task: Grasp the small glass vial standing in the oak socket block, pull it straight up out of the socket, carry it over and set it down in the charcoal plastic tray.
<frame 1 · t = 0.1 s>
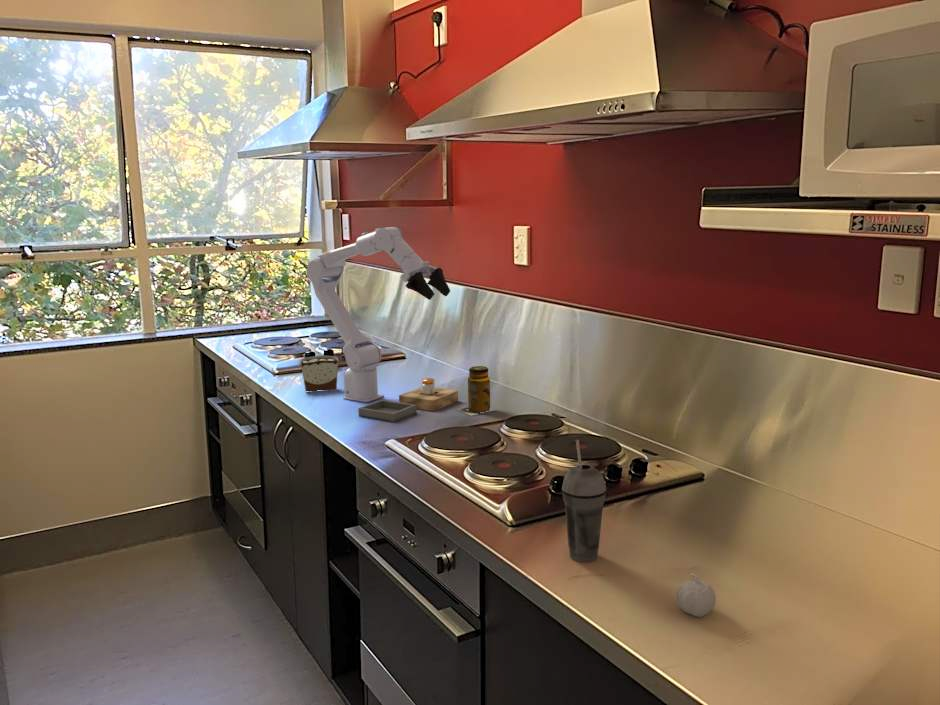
hand: (440, 295, 216), 32 cm above the worktop, tool tilted 50°, fingers open, 7 cm apart
beverage cup: (583, 557, 132), on the worktop
food container: (320, 389, 249), on the worktop
tray: (387, 414, 219), on the worktop
small glass vial: (428, 391, 229), in the socket block
garlic: (695, 612, 114), on the worktop
socket block: (429, 403, 229), on the worktop
condiment: (476, 411, 221), on the worktop
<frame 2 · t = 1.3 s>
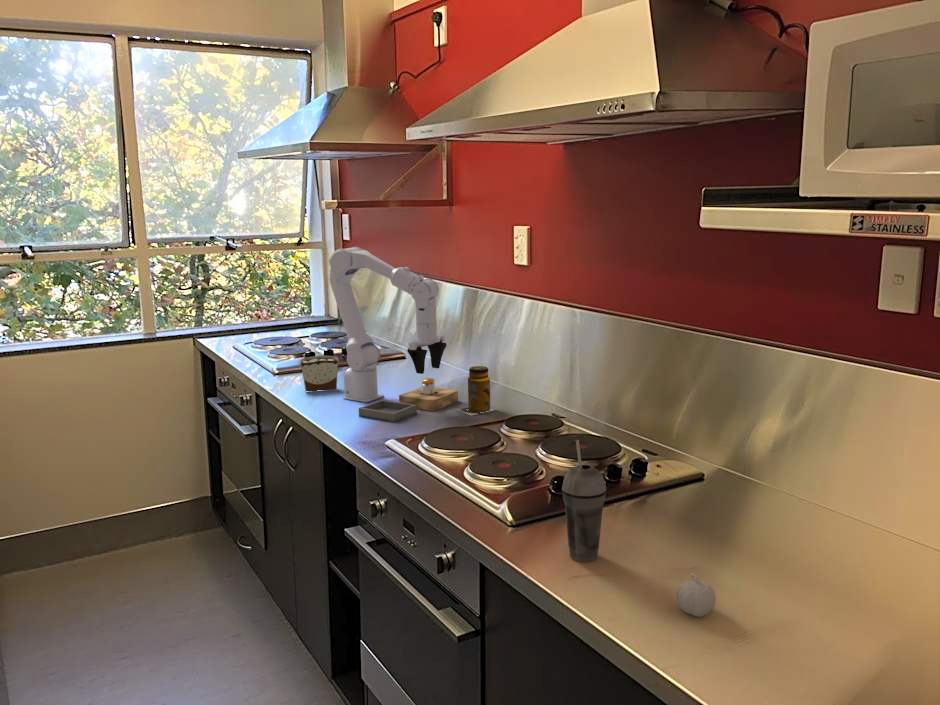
hand: (428, 370, 227), 10 cm above the worktop, tool pointing down, fingers open, 7 cm apart
nothing on the worktop moved.
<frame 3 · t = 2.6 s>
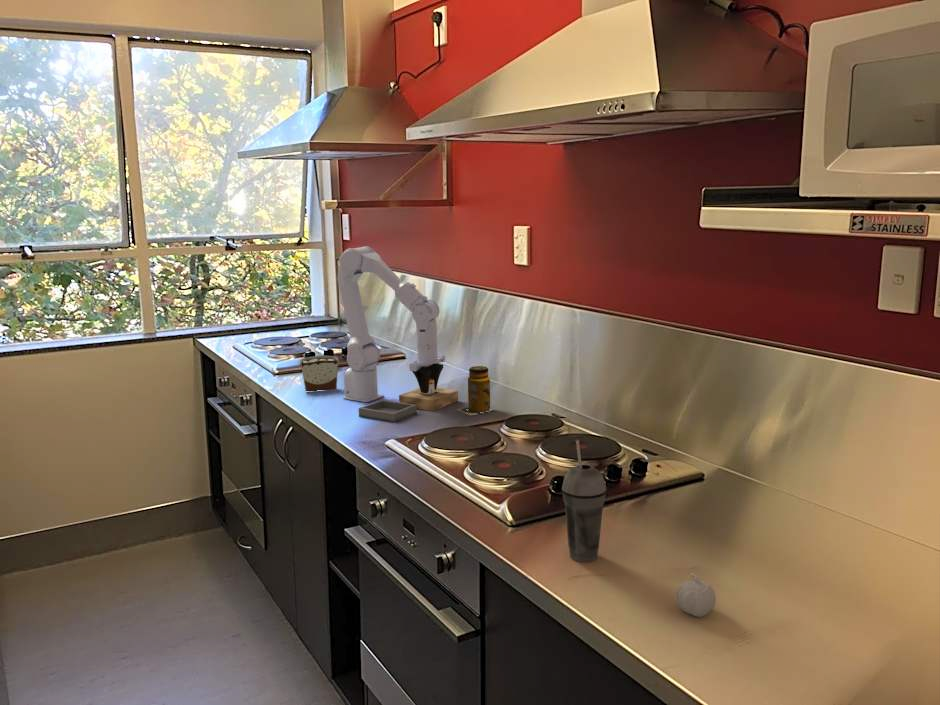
hand: (428, 391, 229), 4 cm above the worktop, tool pointing down, fingers closed on small glass vial, 3 cm apart
small glass vial: (428, 391, 229), in the socket block, touching gripper
everything else where it was.
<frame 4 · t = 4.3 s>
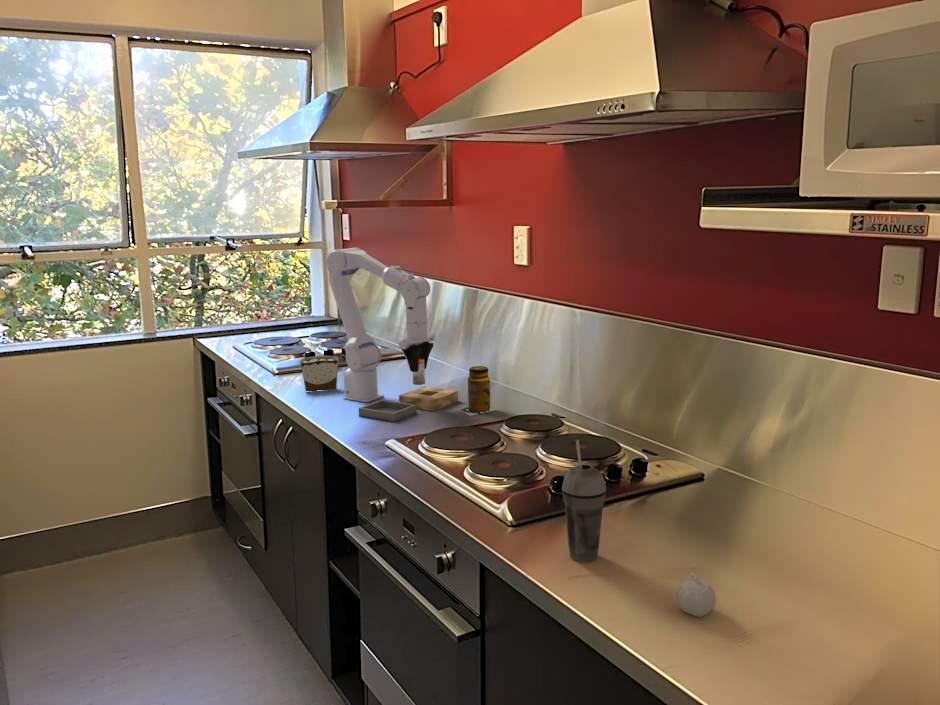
hand: (418, 370, 225), 10 cm above the worktop, tool pointing down, fingers closed on small glass vial, 3 cm apart
small glass vial: (418, 371, 225), point 10 cm above the worktop, touching gripper
everything else where it was.
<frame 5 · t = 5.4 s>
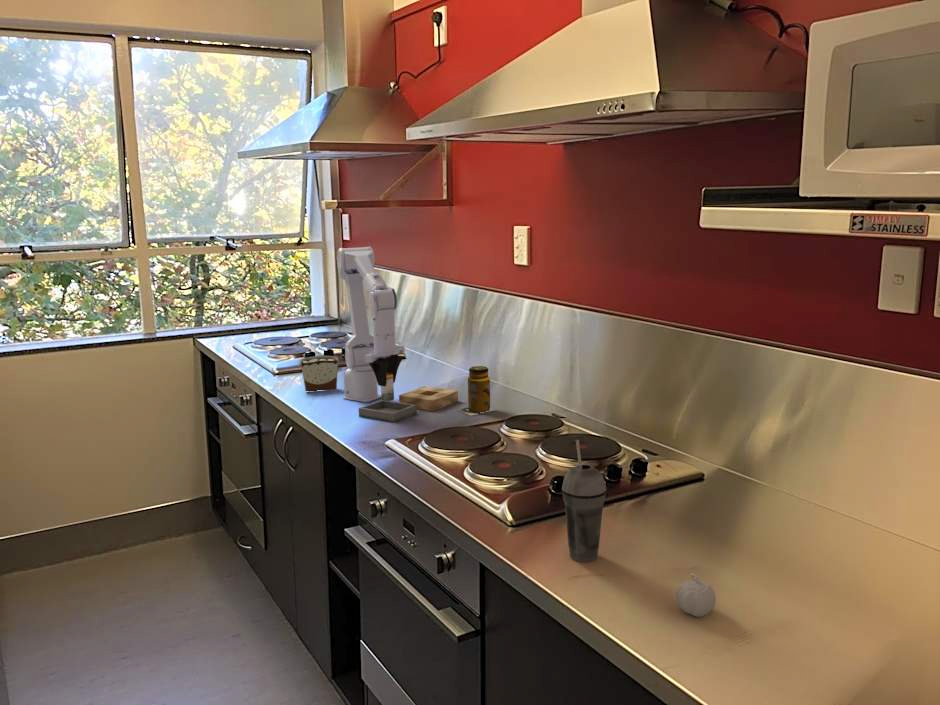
hand: (386, 383, 217), 9 cm above the worktop, tool pointing down, fingers closed on small glass vial, 3 cm apart
small glass vial: (387, 386, 217), point 8 cm above the worktop, touching gripper
everything else where it was.
when the fingers open (5 cm above the worktop, at t = 6.3 s): small glass vial stays where it is, resting on tray.
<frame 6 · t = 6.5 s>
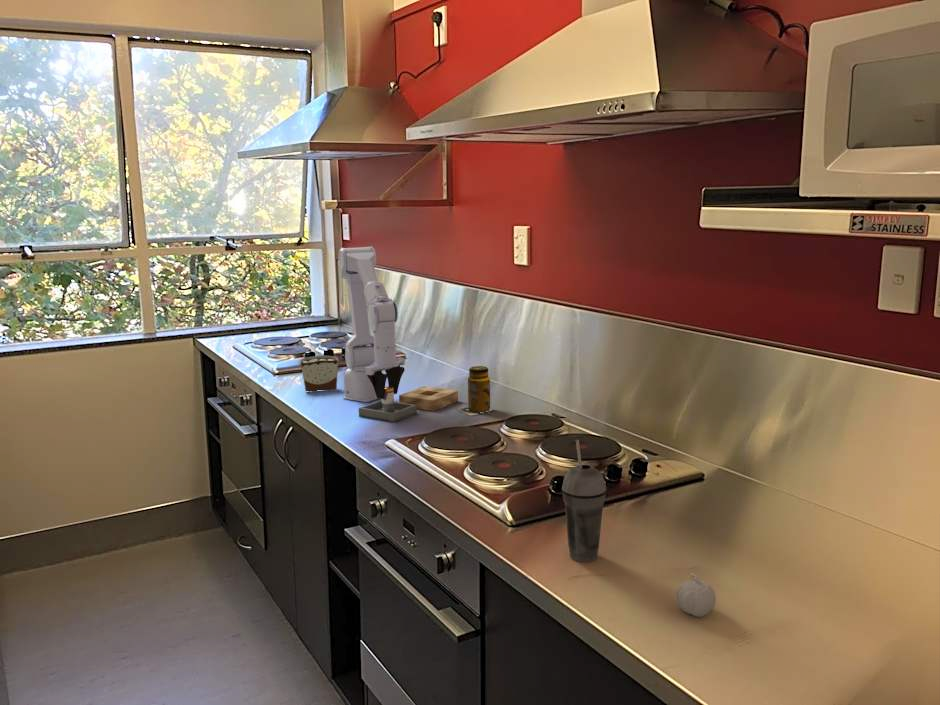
hand: (387, 395, 218), 5 cm above the worktop, tool pointing down, fingers open, 5 cm apart
small glass vial: (387, 400, 218), in the tray
everything else where it was.
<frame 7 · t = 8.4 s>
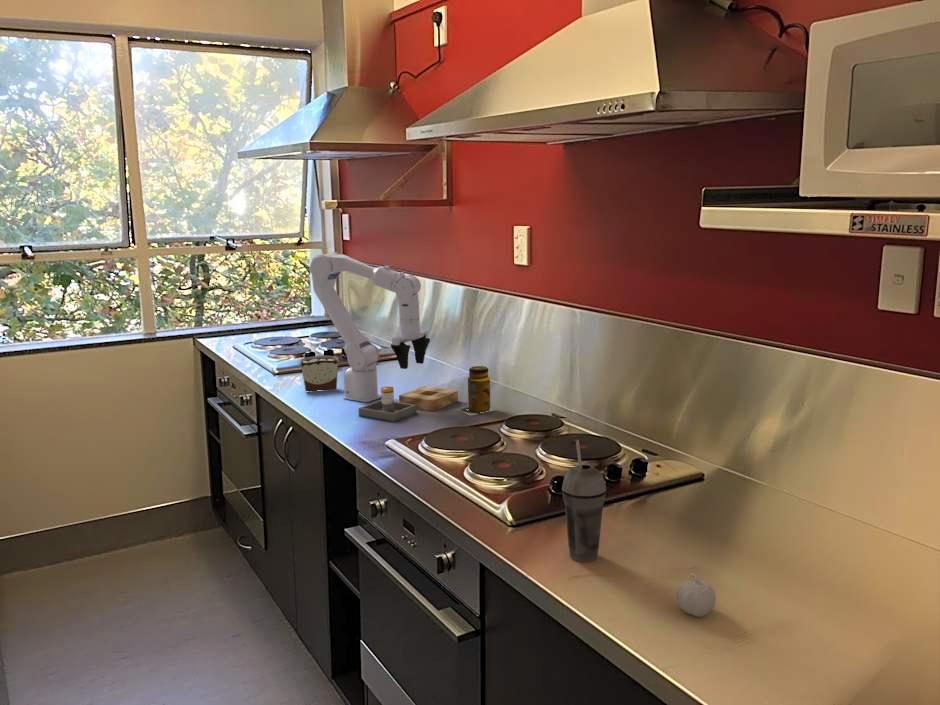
hand: (411, 365, 230), 10 cm above the worktop, tool pointing down, fingers open, 7 cm apart
nothing on the worktop moved.
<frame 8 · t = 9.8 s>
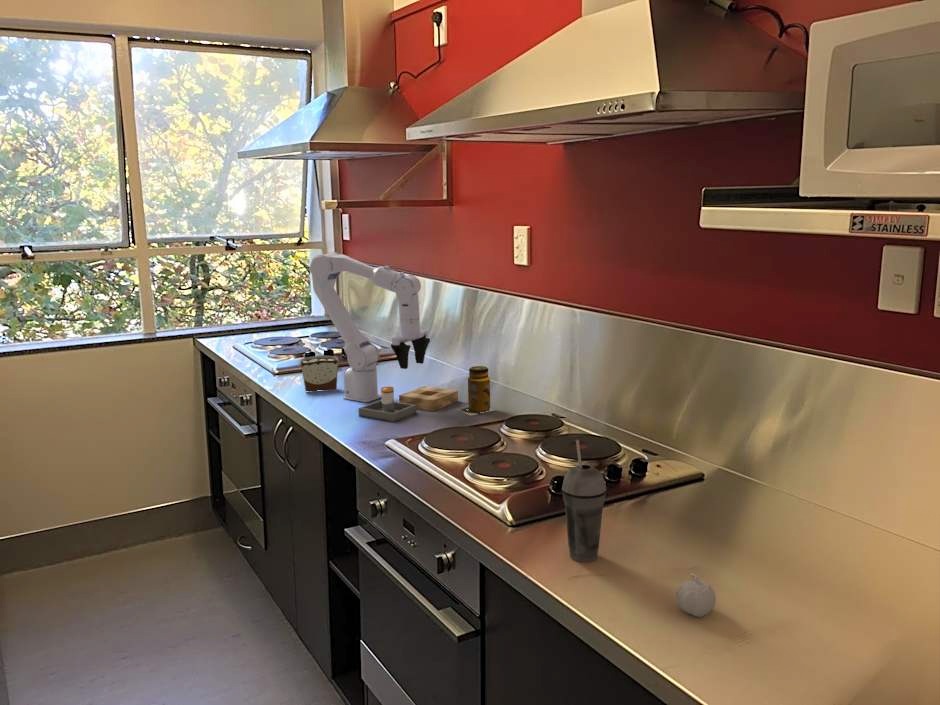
hand: (412, 365, 230), 10 cm above the worktop, tool pointing down, fingers open, 7 cm apart
nothing on the worktop moved.
at the end: small glass vial inside the target area on the tray (0.2 cm from its centre), point 4.0 cm above the tray's base; the gripper is holding nothing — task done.
